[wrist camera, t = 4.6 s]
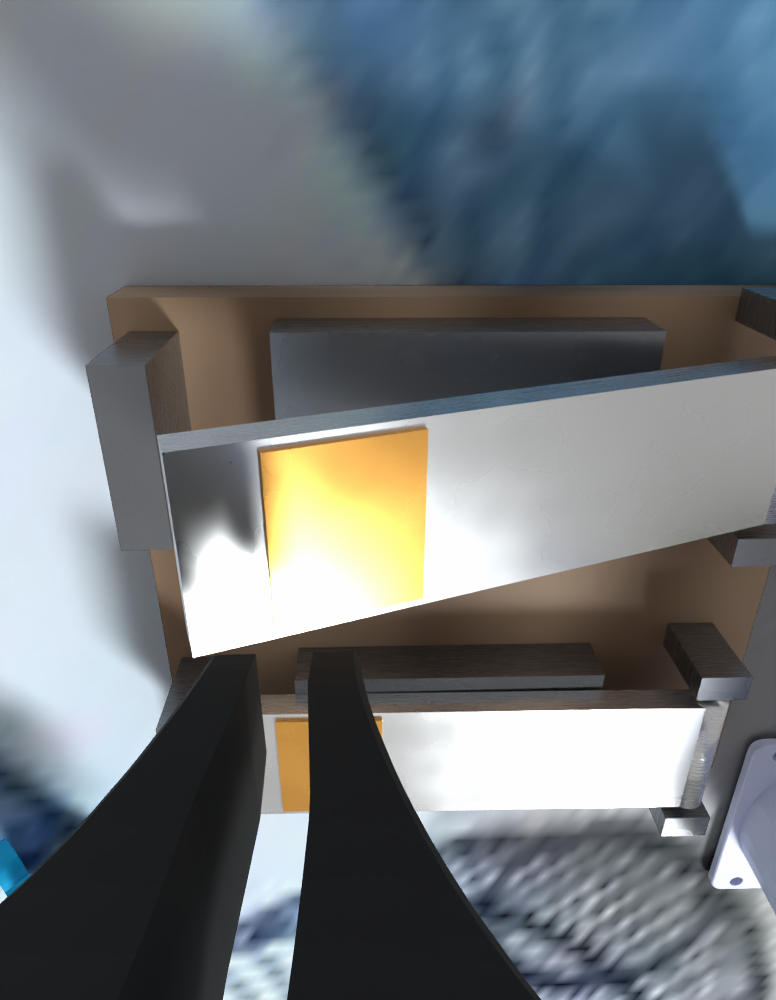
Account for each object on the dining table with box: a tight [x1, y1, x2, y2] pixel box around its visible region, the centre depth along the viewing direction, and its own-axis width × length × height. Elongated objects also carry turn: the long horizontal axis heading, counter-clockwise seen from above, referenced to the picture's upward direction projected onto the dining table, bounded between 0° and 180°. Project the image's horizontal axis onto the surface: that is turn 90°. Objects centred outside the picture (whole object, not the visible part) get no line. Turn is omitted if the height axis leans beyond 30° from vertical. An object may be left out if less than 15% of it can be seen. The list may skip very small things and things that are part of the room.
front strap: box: [157, 355, 776, 658], centre depth 15 cm, size 14×4×1 cm, turn 89°
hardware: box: [86, 287, 776, 836], centre depth 19 cm, size 16×16×3 cm
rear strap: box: [260, 689, 729, 814], centre depth 21 cm, size 14×4×1 cm, turn 90°
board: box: [106, 285, 776, 767], centre depth 21 cm, size 18×16×2 cm
